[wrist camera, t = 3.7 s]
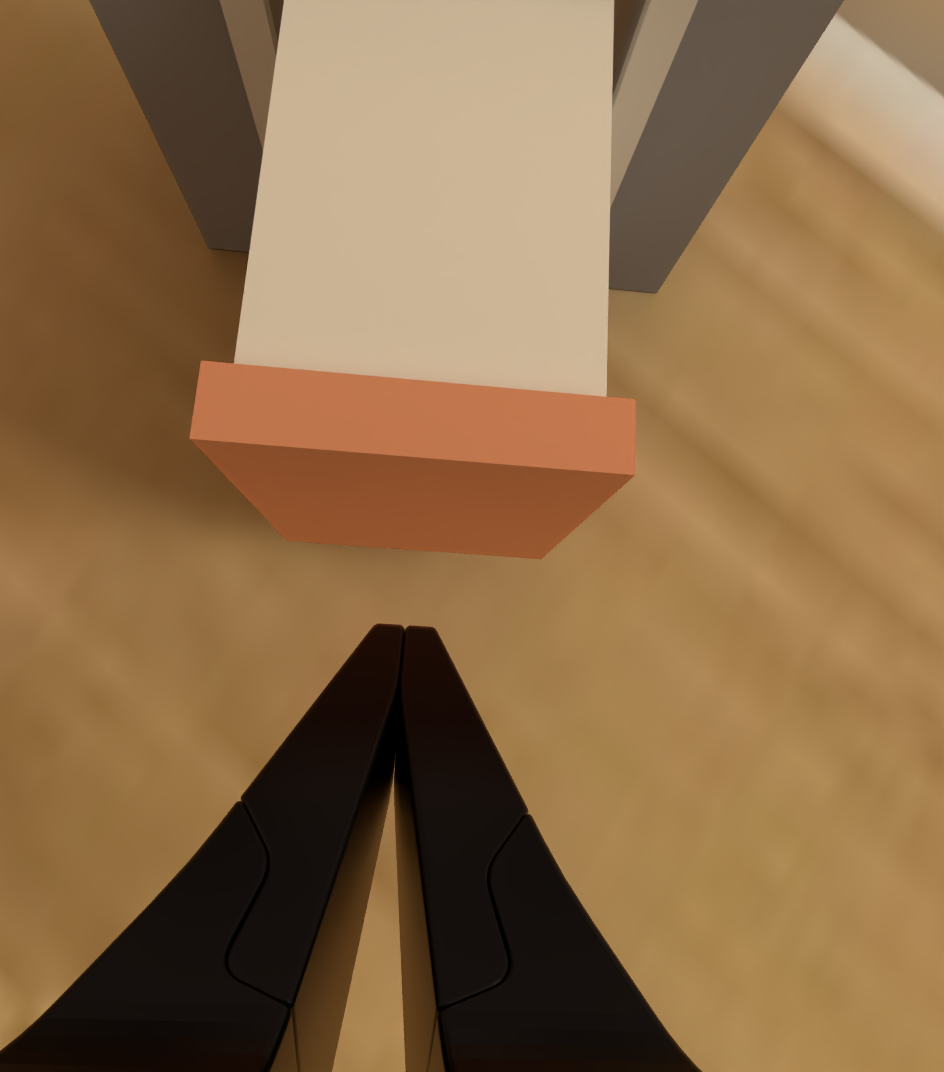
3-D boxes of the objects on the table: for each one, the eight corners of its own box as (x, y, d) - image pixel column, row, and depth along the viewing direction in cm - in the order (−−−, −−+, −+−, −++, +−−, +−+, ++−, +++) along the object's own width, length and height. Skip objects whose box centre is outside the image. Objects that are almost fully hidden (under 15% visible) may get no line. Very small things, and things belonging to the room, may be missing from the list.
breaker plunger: (541, 559, 15) (634, 474, 8) (286, 540, 14) (189, 439, 8) (556, 156, 17) (642, -151, 10) (334, 131, 16) (284, -203, 10)
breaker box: (656, 303, 19) (922, -103, 9) (207, 258, 18) (-44, -245, 8) (657, 166, 20) (900, -342, 10) (228, 117, 19) (25, -493, 9)
